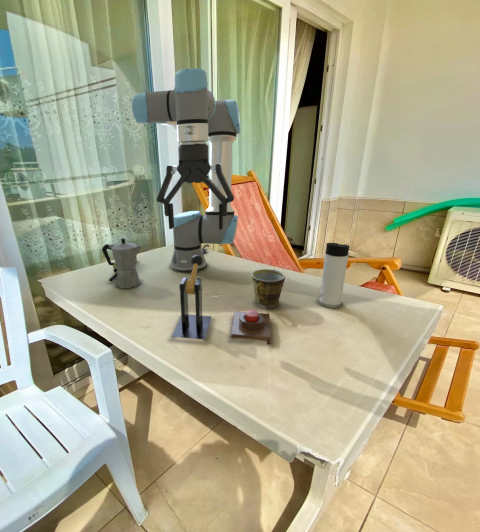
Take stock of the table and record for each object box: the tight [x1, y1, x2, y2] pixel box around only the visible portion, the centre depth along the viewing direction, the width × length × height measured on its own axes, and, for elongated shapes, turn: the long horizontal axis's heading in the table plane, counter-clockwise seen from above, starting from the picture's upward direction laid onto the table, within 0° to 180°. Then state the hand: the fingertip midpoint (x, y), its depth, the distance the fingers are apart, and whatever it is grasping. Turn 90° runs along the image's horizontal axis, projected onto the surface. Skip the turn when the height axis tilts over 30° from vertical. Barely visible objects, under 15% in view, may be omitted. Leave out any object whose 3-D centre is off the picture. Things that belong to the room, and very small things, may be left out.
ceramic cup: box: [251, 268, 286, 309], centre depth 94 cm, size 13×10×10 cm
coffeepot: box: [101, 238, 142, 289], centre depth 113 cm, size 15×9×18 cm, turn 79°
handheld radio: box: [108, 256, 138, 282], centre depth 128 cm, size 7×3×25 cm
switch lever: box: [186, 255, 203, 295], centre depth 84 cm, size 13×3×3 cm, turn 169°
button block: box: [230, 311, 272, 345], centre depth 83 cm, size 12×10×4 cm
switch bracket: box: [171, 277, 212, 341], centre depth 82 cm, size 12×9×15 cm
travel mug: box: [318, 242, 350, 309], centre depth 92 cm, size 6×7×20 cm
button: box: [244, 309, 260, 322], centre depth 82 cm, size 4×4×2 cm
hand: (196, 228), depth 82 cm, fingers open, 13 cm apart
